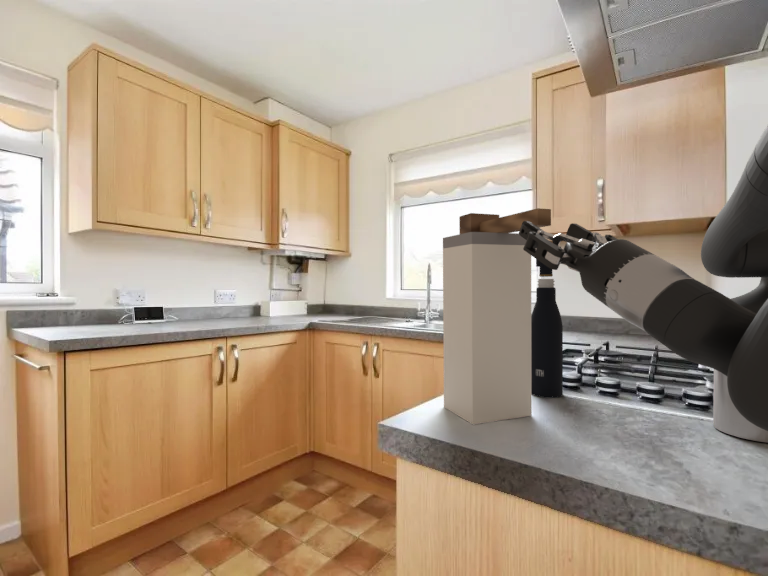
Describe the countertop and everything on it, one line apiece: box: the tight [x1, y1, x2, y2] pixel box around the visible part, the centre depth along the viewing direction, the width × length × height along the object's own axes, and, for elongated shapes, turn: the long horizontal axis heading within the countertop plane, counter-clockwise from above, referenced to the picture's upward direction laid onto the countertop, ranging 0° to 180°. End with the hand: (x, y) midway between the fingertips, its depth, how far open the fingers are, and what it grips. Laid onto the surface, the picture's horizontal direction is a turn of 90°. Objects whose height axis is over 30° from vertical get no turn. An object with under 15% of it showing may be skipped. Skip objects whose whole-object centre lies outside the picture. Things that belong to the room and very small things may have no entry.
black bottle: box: [531, 258, 564, 399], centre depth 85 cm, size 6×6×30 cm
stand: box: [442, 232, 533, 425], centre depth 74 cm, size 10×12×32 cm
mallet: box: [458, 207, 552, 234], centre depth 68 cm, size 19×6×4 cm, turn 20°
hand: (546, 228), depth 59 cm, fingers open, 8 cm apart
